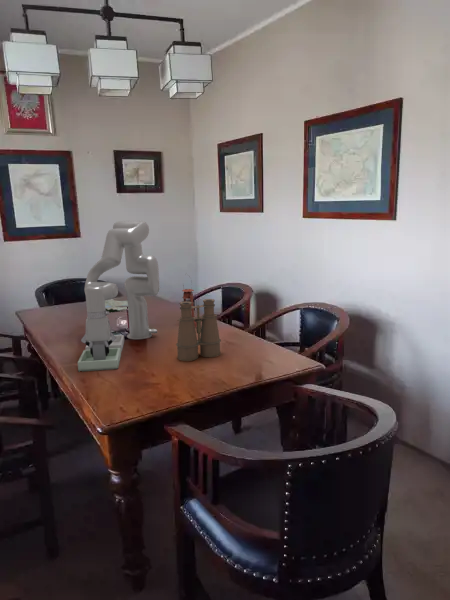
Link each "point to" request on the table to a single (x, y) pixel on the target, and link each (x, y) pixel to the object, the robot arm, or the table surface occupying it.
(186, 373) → the table surface
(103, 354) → the stone block
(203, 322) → the binoculars
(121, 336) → the bin
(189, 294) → the lantern
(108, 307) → the topographic map model
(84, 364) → the bin
